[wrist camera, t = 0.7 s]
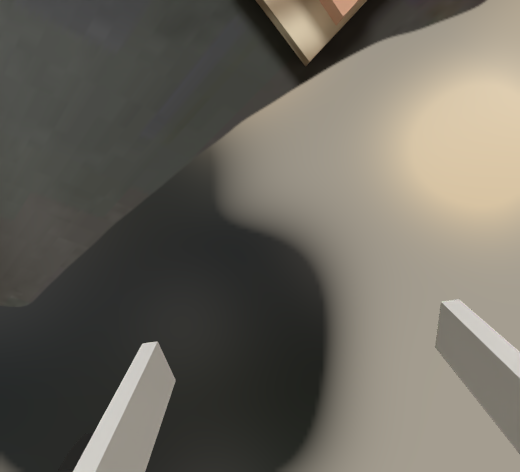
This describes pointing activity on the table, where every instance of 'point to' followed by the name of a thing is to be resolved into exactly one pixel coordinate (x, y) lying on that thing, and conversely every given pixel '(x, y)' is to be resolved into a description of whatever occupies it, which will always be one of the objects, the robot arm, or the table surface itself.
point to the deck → (304, 24)
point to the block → (338, 8)
